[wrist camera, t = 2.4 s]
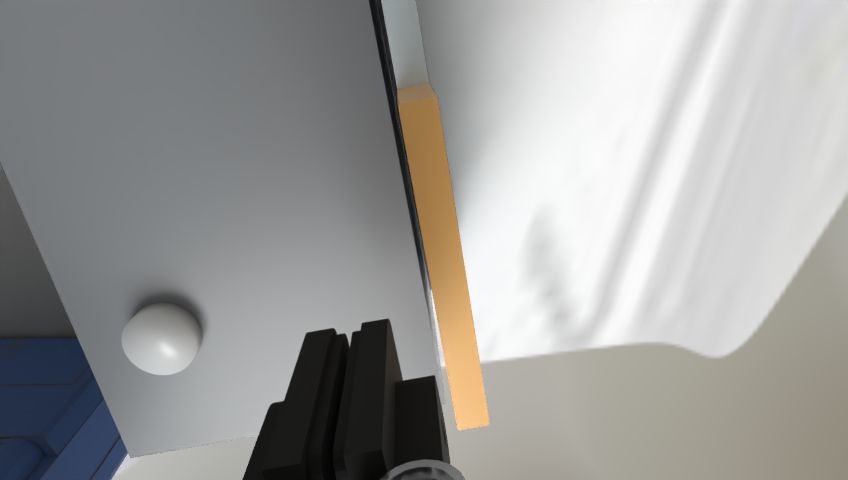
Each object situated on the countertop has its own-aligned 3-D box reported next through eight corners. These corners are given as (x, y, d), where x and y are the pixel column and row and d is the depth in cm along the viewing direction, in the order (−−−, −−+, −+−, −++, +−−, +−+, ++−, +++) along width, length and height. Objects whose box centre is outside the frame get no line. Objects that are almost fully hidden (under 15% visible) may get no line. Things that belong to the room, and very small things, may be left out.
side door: (375, -50, 20) (354, -128, 10) (398, -54, 20) (400, -136, 10) (432, 262, 24) (457, 430, 14) (450, 259, 24) (489, 425, 14)
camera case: (74, -56, 20) (-142, -113, 12) (356, -109, 20) (329, -203, 12) (208, 331, 25) (121, 471, 17) (430, 292, 25) (446, 416, 17)
